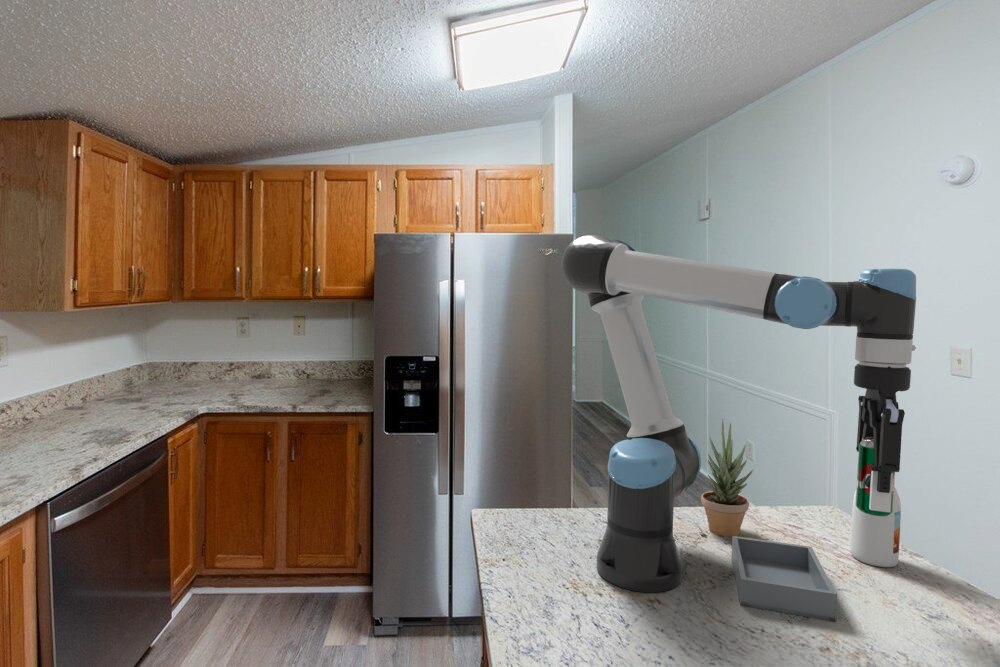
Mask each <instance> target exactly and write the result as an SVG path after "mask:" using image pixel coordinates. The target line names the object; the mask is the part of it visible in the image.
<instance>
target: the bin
mask: <svg viewBox="0 0 1000 667" xmlns="http://www.w3.org/2000/svg"><path fill="white" fill-rule="evenodd" d="M730 558H731V562H732V568H733V569H732V570H733V573H734V579H735V585H736V589H737V595H738V600H739V604H740V606H741V607H742V606H744V607H749V608H754V609H760V610H765V611H770V612H771V611H773V612H776V613H784V614H789V615H795V616H800V617H806V618H812V619H818V620H823V621H828V622H836V618H837V617H836V616H837V596H838V595H837V592H836V590H835V588H834V586H833V585H832V583H831V581H830V579H829V576H828V575H827V573H826V571H825V569H824V567H823V566H822V564H821V561H820V559H818V556H817V554H816V552H815V550H814V549H813V547H812V546H811V545H810V546H809V545H803V544H802V545H801V544H795V543H789V542H787V543H786V542H782V541H781V542H780V541H772V540H766V539H765V540H764V539H758V538H751V537H744V536H743V537H742V536H738V535H737V536H731V556H730Z"/></svg>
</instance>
